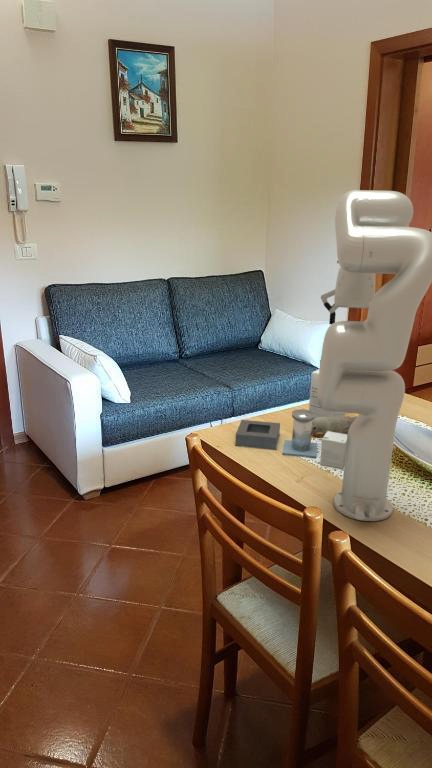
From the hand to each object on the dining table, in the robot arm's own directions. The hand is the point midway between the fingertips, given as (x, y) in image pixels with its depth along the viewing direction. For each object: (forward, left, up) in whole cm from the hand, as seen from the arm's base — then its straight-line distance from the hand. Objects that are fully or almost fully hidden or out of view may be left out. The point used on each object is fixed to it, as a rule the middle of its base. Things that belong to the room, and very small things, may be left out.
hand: (351, 328), depth 150 cm
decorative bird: (+1, +1, -33) cm, 33 cm away
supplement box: (+18, +4, -33) cm, 37 cm away
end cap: (-10, +11, -32) cm, 35 cm away
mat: (-10, +11, -32) cm, 36 cm away
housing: (-6, +23, -32) cm, 40 cm away
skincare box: (-16, +2, -33) cm, 36 cm away
